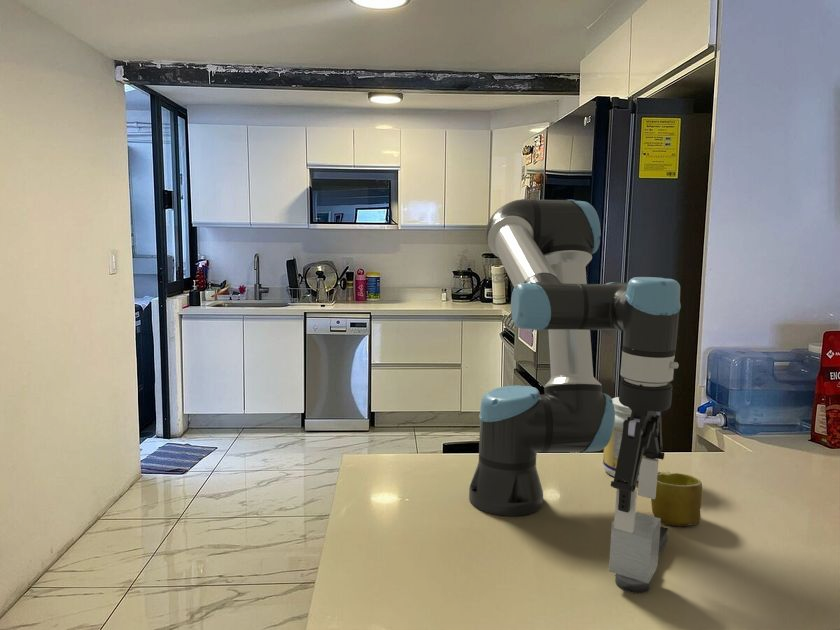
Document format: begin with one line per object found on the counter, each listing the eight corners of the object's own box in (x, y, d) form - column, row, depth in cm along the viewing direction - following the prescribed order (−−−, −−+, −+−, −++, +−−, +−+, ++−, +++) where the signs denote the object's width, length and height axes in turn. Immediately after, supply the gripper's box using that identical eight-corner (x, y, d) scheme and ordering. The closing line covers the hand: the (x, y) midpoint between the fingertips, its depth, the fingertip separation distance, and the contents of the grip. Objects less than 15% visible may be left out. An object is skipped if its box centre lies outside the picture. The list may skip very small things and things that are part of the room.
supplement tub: (612, 459, 154) (616, 392, 152) (663, 471, 147) (668, 401, 145) (594, 474, 145) (598, 403, 142) (648, 487, 137) (653, 412, 135)
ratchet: (643, 535, 115) (646, 501, 115) (673, 543, 113) (676, 508, 112) (611, 586, 98) (613, 547, 97) (645, 597, 95) (648, 556, 95)
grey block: (608, 571, 98) (611, 522, 97) (619, 555, 103) (622, 508, 102) (648, 583, 95) (652, 533, 94) (657, 566, 100) (660, 518, 99)
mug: (717, 525, 116) (701, 471, 117) (660, 536, 118) (645, 483, 119) (705, 510, 127) (690, 461, 129) (653, 520, 130) (639, 472, 131)
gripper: (652, 403, 82) (640, 554, 86) (688, 368, 103) (677, 490, 106) (595, 394, 86) (586, 537, 90) (641, 361, 107) (632, 479, 110)
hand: (635, 512), depth 98 cm, fingers open, 13 cm apart
